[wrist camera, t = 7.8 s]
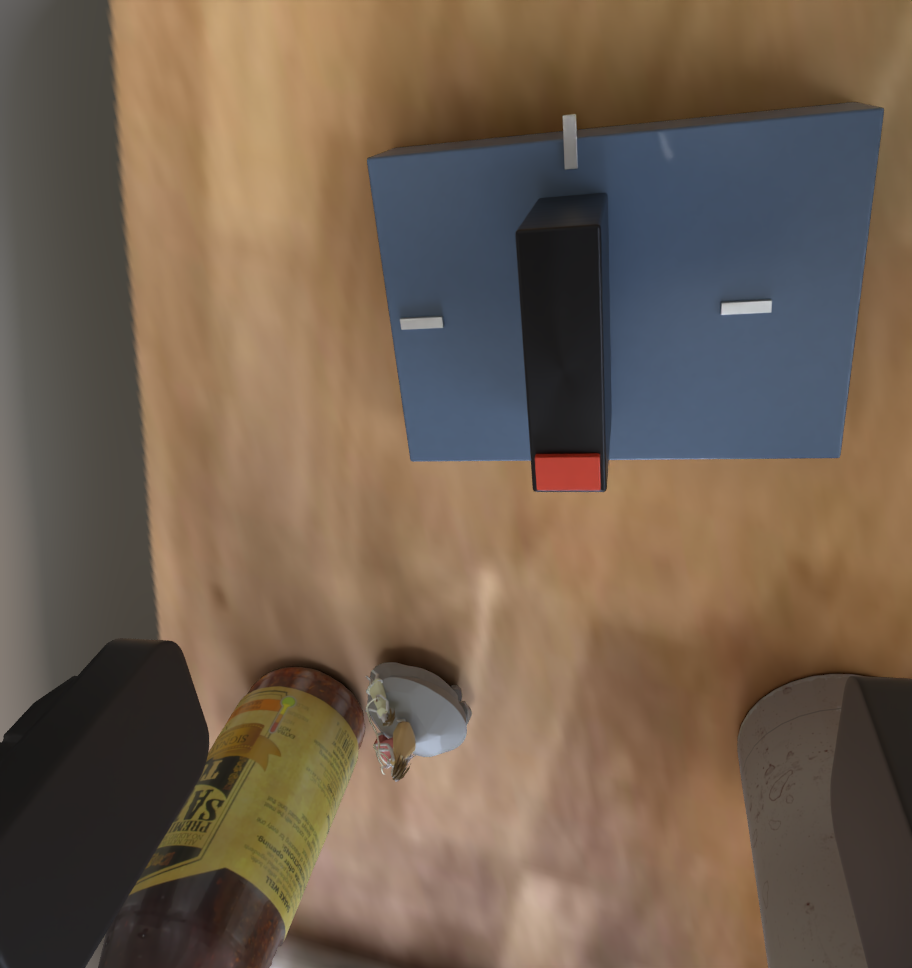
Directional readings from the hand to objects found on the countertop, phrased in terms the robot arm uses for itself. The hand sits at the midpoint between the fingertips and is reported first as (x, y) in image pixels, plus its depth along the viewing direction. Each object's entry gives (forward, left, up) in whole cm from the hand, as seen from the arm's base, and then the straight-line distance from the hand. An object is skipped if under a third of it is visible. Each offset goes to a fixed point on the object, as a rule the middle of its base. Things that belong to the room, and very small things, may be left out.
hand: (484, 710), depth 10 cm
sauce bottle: (+14, +20, -20) cm, 32 cm away
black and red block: (0, 0, -17) cm, 17 cm away
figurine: (+8, +18, -20) cm, 28 cm away
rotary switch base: (-1, 0, -20) cm, 20 cm away
